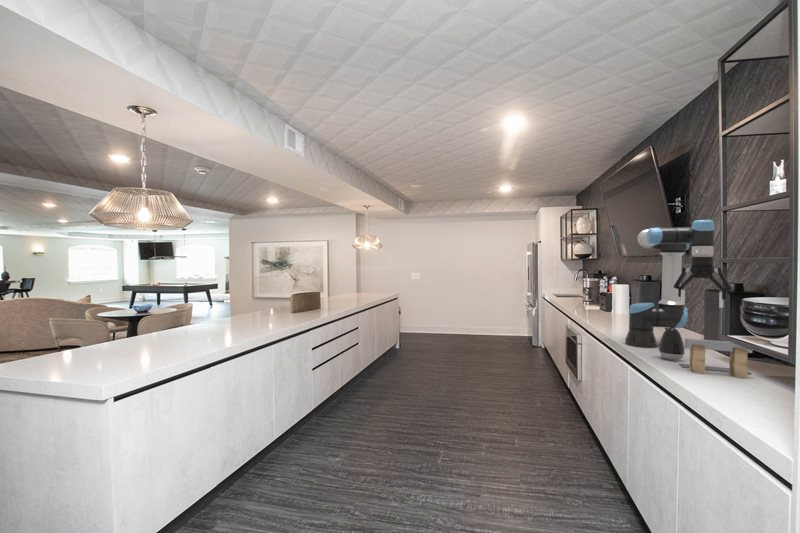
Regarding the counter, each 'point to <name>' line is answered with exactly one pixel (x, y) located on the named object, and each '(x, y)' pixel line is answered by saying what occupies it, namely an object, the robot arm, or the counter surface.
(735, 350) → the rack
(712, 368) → the mat
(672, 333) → the black tapered rounded piece
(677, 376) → the counter surface
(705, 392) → the counter surface
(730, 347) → the rail
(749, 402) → the counter surface
